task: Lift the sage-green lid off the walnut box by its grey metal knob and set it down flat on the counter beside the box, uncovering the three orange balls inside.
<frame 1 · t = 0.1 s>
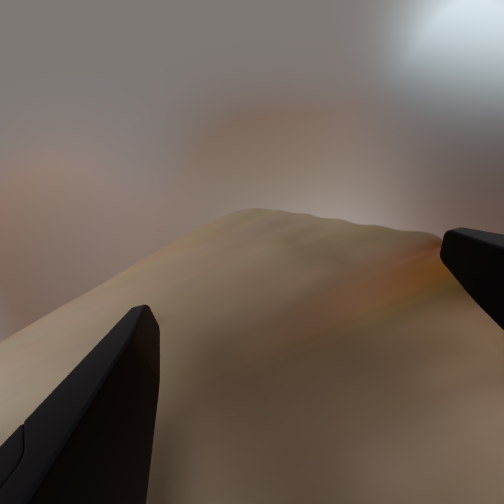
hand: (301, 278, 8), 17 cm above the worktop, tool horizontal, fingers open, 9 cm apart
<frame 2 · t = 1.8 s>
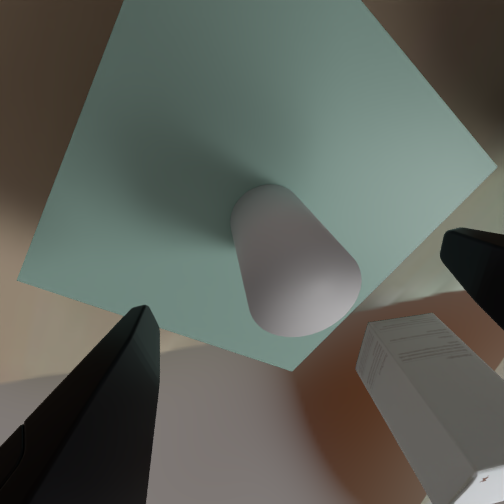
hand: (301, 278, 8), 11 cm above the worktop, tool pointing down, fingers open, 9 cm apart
lid: (262, 212, 13), point 6 cm above the worktop, touching box
supplement box: (390, 339, 29), on the worktop
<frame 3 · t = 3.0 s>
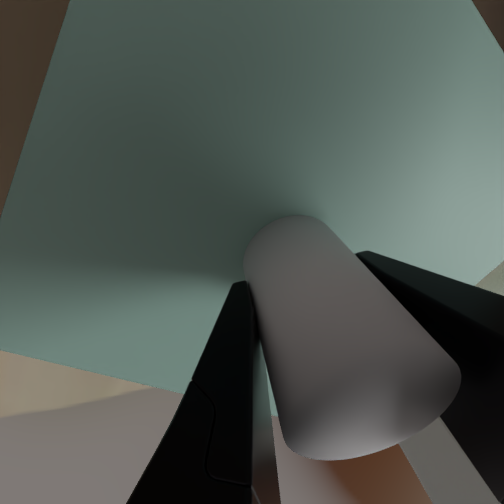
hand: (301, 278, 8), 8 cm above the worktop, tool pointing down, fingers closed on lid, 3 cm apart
lid: (283, 245, 10), point 6 cm above the worktop, touching box, gripper
supplement box: (412, 366, 27), on the worktop
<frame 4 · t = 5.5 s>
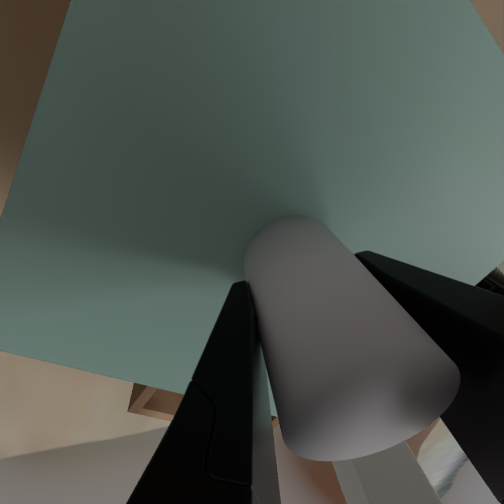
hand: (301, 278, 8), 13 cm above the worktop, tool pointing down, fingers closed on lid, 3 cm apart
lid: (283, 246, 10), point 11 cm above the worktop, touching gripper
supplement box: (347, 409, 38), on the worktop
box: (235, 327, 27), on the worktop
when the fingers open (3 cm above the worktop, at t = 8.1 s): lid drops 2 cm, on the worktop.
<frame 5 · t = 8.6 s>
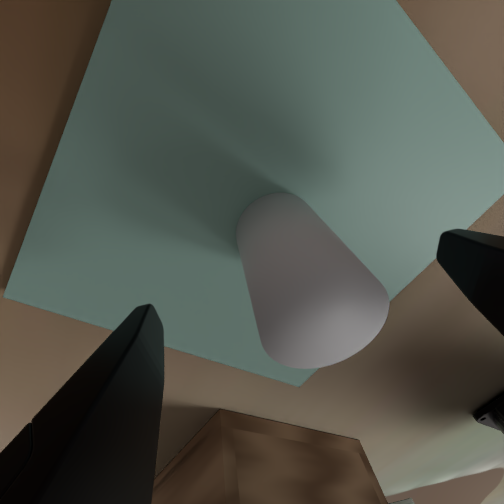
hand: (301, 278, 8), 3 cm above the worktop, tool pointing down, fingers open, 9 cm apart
lid: (270, 221, 12), on the worktop
box: (247, 471, 22), on the worktop
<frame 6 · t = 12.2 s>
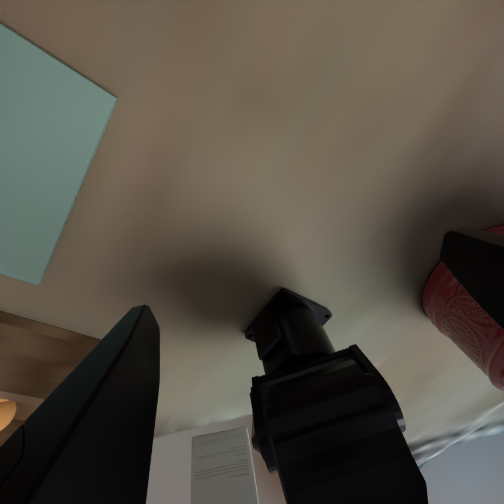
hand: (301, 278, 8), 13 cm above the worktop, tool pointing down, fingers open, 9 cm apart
supplement box: (222, 442, 38), on the worktop
box: (47, 376, 26), on the worktop
canister: (475, 276, 29), on the worktop
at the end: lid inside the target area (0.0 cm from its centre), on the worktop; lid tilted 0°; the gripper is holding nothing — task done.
